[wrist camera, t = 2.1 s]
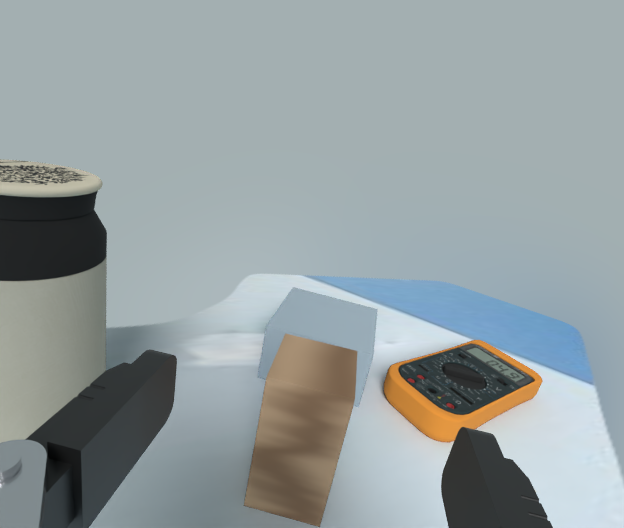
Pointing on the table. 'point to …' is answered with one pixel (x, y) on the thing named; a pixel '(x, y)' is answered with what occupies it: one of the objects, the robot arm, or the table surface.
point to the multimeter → (458, 388)
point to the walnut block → (301, 428)
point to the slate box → (323, 329)
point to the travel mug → (48, 292)
